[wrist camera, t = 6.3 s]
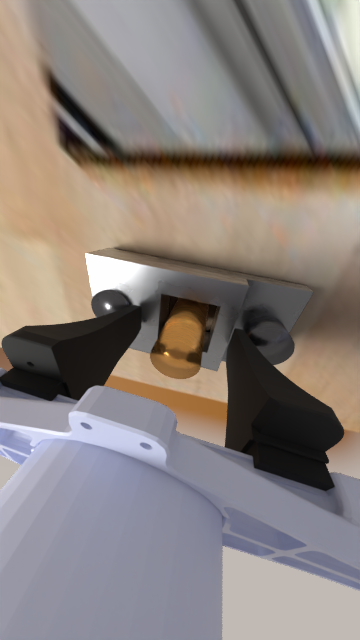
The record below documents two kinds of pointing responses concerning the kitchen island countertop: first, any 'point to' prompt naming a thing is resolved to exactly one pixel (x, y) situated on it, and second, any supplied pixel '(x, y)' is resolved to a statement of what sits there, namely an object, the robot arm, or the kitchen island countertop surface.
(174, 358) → the pin
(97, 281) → the gray slab
